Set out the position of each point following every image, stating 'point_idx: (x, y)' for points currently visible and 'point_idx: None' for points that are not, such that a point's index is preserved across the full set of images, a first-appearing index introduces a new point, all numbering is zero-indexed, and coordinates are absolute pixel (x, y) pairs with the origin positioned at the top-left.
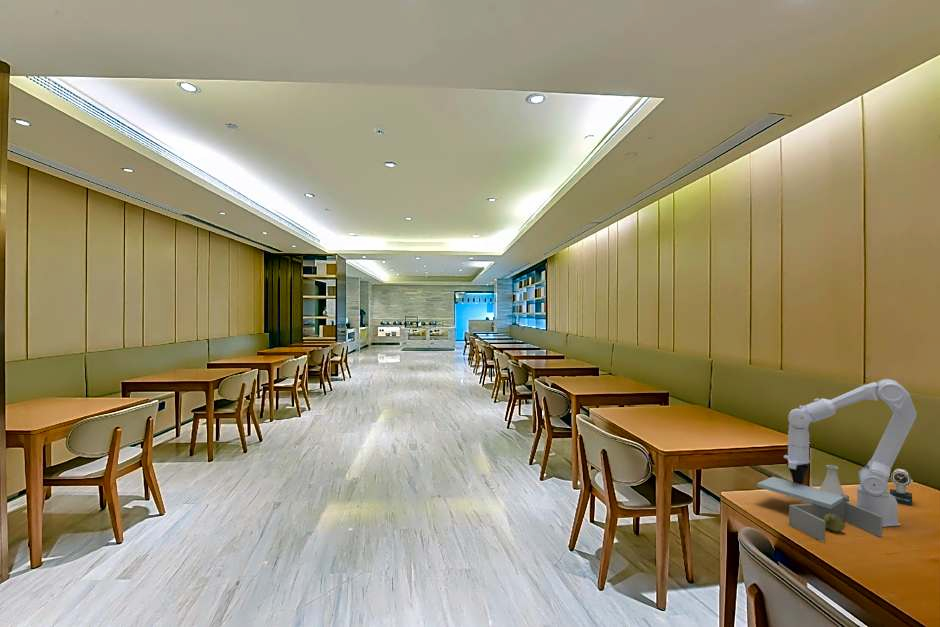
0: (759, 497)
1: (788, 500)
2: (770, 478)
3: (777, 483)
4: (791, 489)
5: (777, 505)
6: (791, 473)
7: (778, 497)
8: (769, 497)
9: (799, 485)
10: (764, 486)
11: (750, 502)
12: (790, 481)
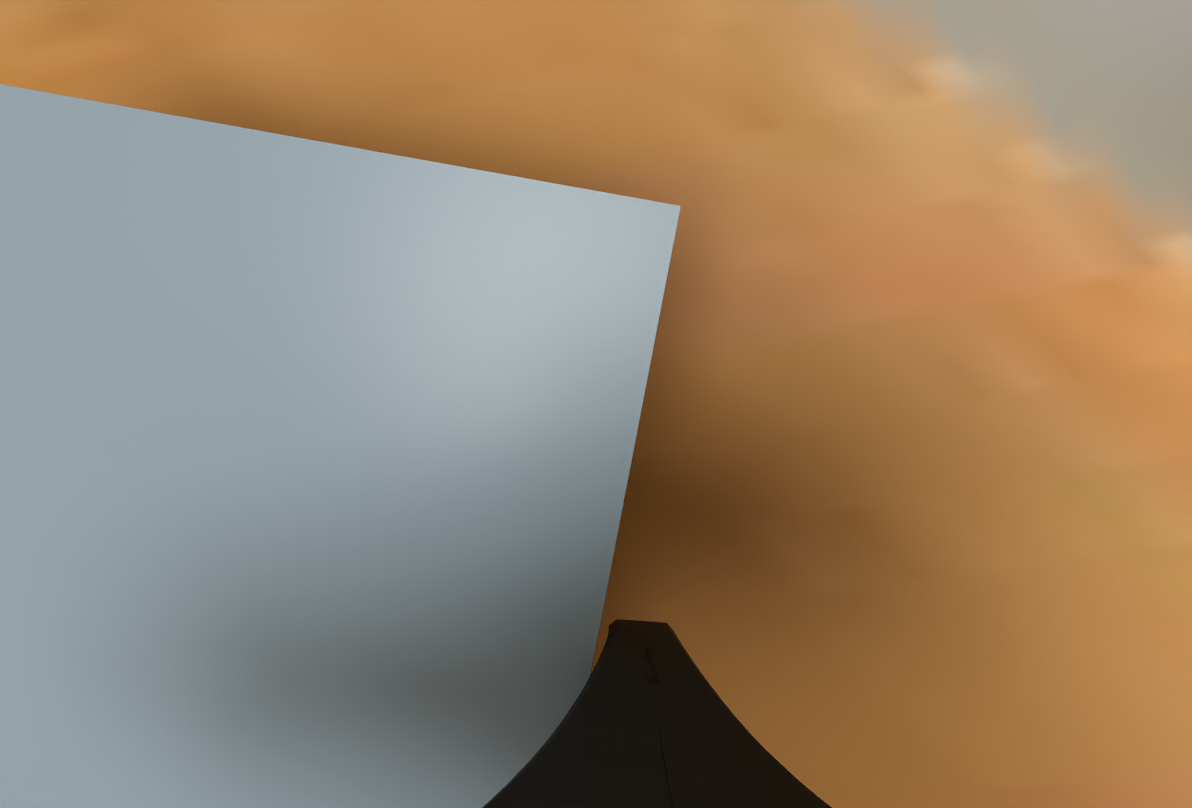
0: (518, 74)
1: (715, 408)
2: (450, 198)
3: (183, 416)
4: (35, 701)
5: None
6: (525, 771)
7: (740, 283)
8: (638, 187)
9: (457, 767)
10: None
11: (187, 31)
12: (596, 595)
